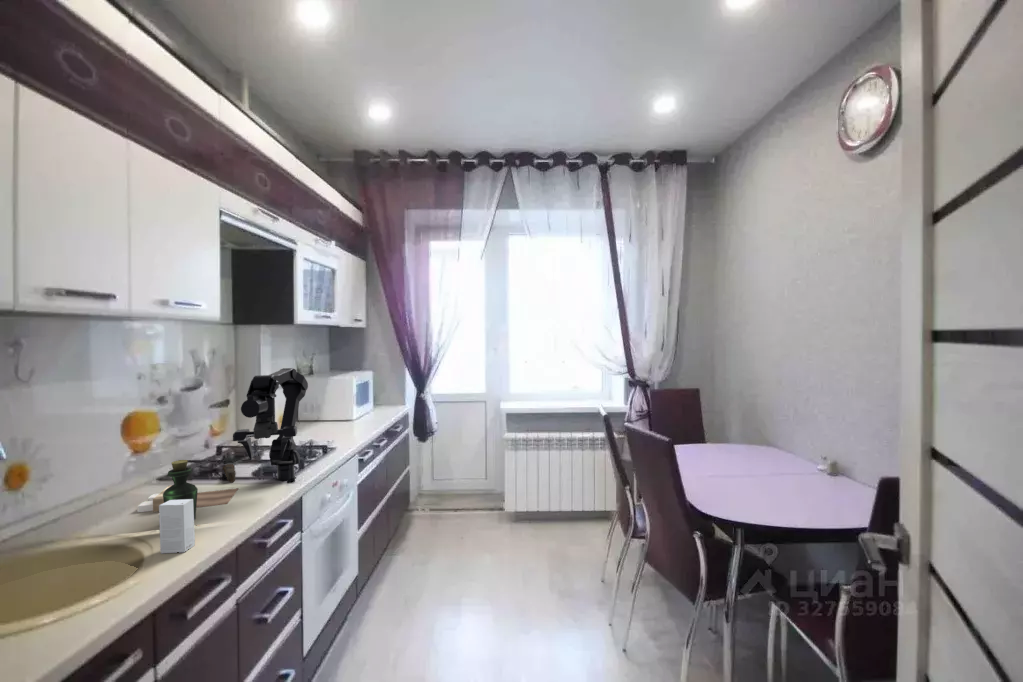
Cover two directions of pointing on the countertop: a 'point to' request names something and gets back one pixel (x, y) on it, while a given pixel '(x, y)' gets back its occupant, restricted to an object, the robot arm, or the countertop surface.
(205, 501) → the walnut board
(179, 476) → the potion bottle
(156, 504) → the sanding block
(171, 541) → the skincare box
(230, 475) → the hand tool
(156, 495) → the plain white cube
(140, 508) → the white square block
